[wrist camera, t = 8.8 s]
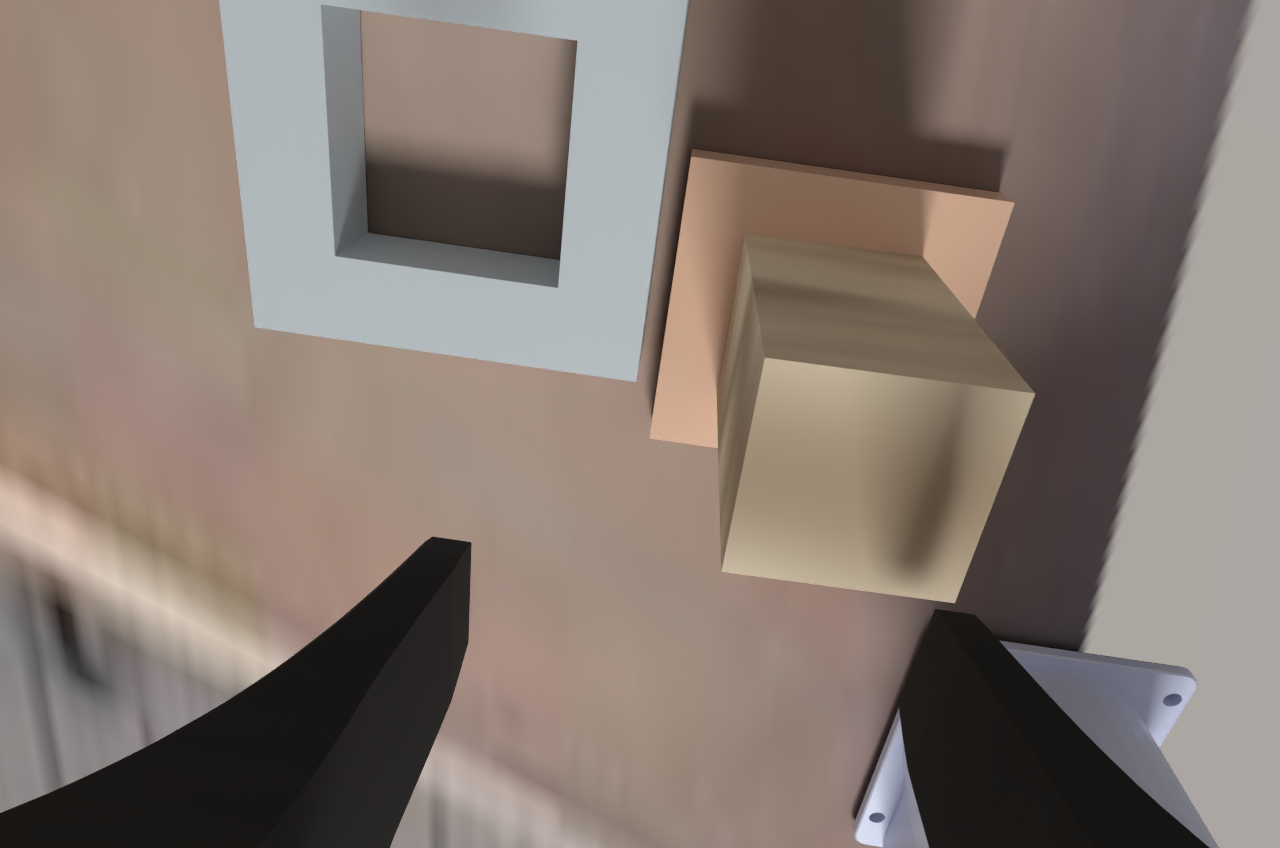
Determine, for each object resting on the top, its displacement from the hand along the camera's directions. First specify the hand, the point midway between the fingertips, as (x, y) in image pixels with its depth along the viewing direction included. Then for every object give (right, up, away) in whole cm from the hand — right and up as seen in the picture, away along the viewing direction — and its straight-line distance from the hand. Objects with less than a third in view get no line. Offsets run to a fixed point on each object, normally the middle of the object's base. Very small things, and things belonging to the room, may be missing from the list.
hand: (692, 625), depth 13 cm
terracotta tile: (+3, +6, +7) cm, 10 cm away
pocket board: (-5, +10, +6) cm, 12 cm away
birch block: (+3, +5, +6) cm, 9 cm away
